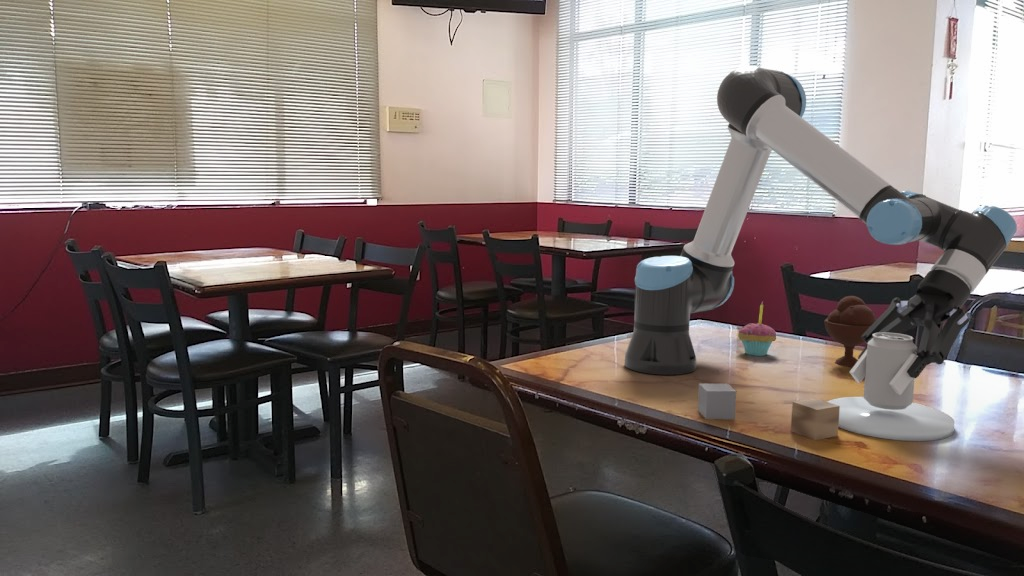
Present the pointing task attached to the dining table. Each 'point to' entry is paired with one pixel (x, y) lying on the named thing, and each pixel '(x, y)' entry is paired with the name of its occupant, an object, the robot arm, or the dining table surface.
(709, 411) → the gray block
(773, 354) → the dining table surface
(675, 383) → the dining table surface
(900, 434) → the plate
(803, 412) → the wooden cube
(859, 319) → the ice cream bowl
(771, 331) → the cupcake
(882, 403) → the can
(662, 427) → the dining table surface
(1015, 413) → the dining table surface
